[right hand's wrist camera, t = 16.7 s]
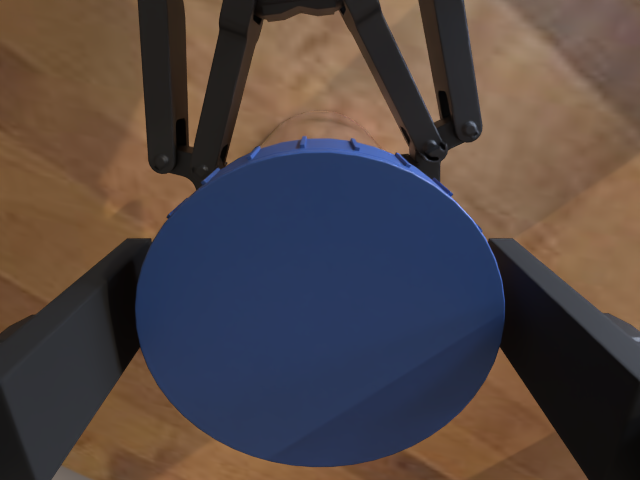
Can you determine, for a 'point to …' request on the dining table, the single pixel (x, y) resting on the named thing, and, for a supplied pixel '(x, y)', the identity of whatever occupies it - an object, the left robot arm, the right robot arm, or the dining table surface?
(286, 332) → the lid
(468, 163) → the dining table surface
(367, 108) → the dining table surface
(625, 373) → the right robot arm
